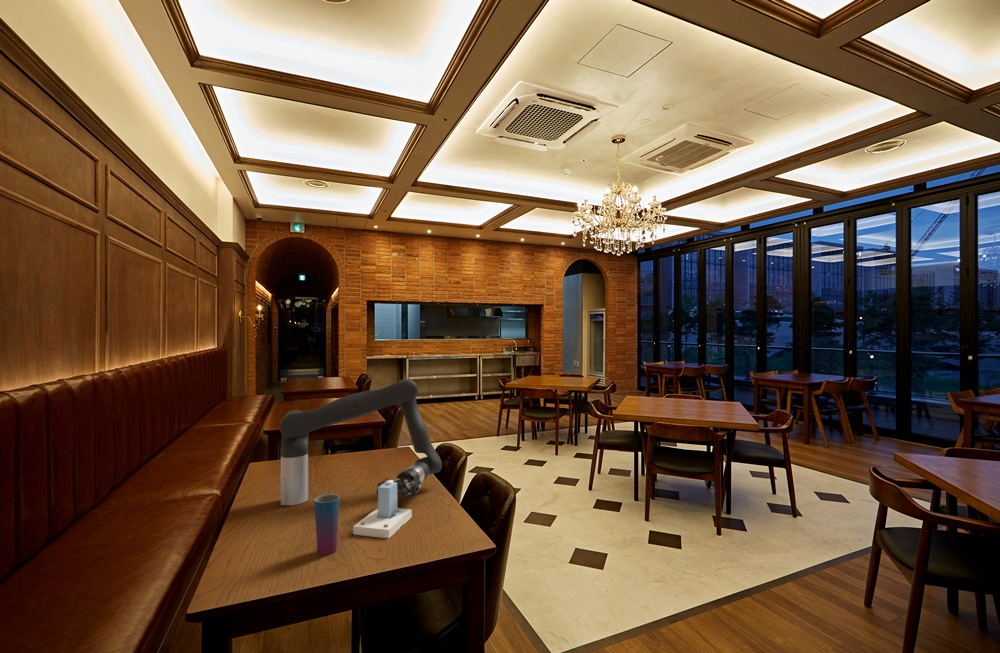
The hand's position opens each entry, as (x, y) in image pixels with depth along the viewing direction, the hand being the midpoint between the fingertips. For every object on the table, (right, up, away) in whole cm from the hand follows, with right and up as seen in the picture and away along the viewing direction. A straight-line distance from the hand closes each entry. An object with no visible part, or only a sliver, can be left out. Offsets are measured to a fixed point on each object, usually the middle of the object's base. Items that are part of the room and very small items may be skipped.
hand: (389, 493), depth 148 cm
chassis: (-1, -9, -4) cm, 10 cm away
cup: (-13, -9, -21) cm, 26 cm away
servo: (0, -9, -1) cm, 9 cm away
